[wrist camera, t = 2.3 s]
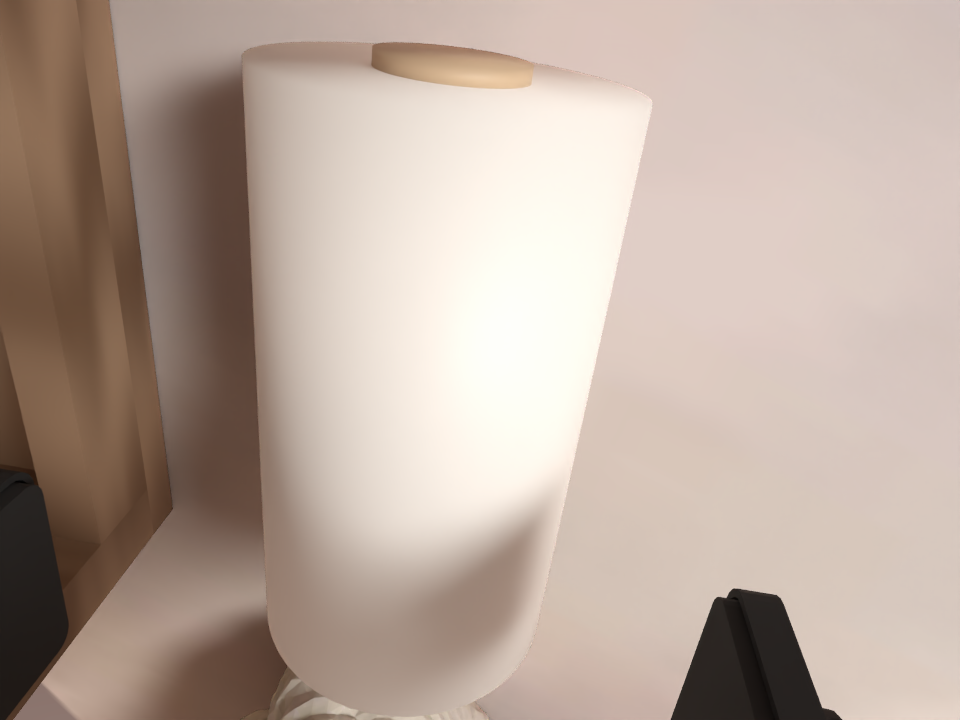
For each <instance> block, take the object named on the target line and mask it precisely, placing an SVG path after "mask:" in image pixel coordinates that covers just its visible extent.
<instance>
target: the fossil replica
mask: <svg viewBox="0 0 960 720" xmlns="http://www.w3.org/2000/svg"><path fill="white" fill-rule="evenodd" d="M240 720H489V718H488V716H487V714H486V713H485V712H484V711H483V710H482V709H481V708H480V707H479V706H478V705H477V703H476V702H475V701H474V702H472V703H470V704H467V705H464V706H462V707H459V708H456V709H453V710H450V711H446V712H442V713H437V714H433V715H424V716H414V717H395V716H384V715H377V714H370V713H366V712H362V711H359V710H355V709H351V708H348V707H346V706H343V705H341V704H339V703H336V702H334V701H331V700H330V699H328V698H326V697H324V696H323V695H321V694H319V693H318V692H316V691H314V690H313V689H312V688H310V687H309V686H308V685H307V684H305V683H304V682H303V681H302V680H300V679H299V678H298V677H297V676H296V674H295V673H294V672H293V671H292V670H291V669H290V668H289V667H287V668H286V670H285V672H284V674H283V677H282V678H281V679H280V682H279V684H278V687H277V690H276V692H275V693H274V694H273V695H272V700H271V702H270V709H268V710H257V711H255V712H253V713H251V714H249V715H248V716H246V717H244V718H242V719H240Z"/></svg>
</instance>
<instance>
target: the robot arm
mask: <svg viewBox="0 0 960 720" xmlns="http://www.w3.org/2000/svg"><path fill="white" fill-rule="evenodd" d="M68 629H69V621H68V616H67V611H66V606H65V601H64V596H63V591H62V586H61V581H60V576H59V570H58V565H57V560H56V555H55V550H54V545H53V540H52V535H51V530H50V525H49V520H48V515H47V510H46V505H45V500H44V495H43V492H42V489H41V488H40V487H39V486H37V485H35V484H34V481H33V479H32V477H31V476H30V475H29V474H27V473H24V472H19V471H12V470H6V469H0V720H6V719H7V718H8V716H9V715H10V714H11V712H12V711H13V710H14V709H15V707H16V706H17V705H18V703H19V702H20V701H21V700H22V698H23V697H24V696H25V695H26V693H27V692H28V691H29V689H30V688H31V687H32V686H33V684H34V683H35V682H36V680H37V679H38V678H39V677H40V675H41V674H42V673H43V672H44V670H45V669H46V668H47V666H48V665H49V664H50V663H51V661H52V660H53V659H54V657H55V656H56V655H57V654H58V652H59V651H60V649H61V648H62V646H63V644H64V642H65V640H66V637H67V634H68ZM671 720H842V719H841V718H840V717H839V716H838V715H837V714H836V713H835V712H834V711H832V710H829V709H824V708H822V706H821V704H820V701H819V698H818V695H817V693H816V690H815V687H814V685H813V682H812V679H811V677H810V674H809V671H808V669H807V666H806V663H805V660H804V658H803V655H802V652H801V650H800V647H799V644H798V642H797V639H796V636H795V634H794V631H793V628H792V626H791V623H790V620H789V617H788V615H787V612H786V609H785V607H784V604H783V602H782V600H781V598H779V597H778V596H777V595H773V594H766V593H760V592H754V591H748V590H742V589H732V590H731V591H730V592H729V594H728V596H727V598H722V597H717V598H716V599H715V600H714V602H713V604H712V607H711V610H710V613H709V615H708V618H707V621H706V624H705V626H704V629H703V632H702V635H701V638H700V640H699V643H698V646H697V649H696V651H695V654H694V657H693V660H692V662H691V665H690V668H689V671H688V673H687V676H686V679H685V682H684V685H683V687H682V690H681V693H680V696H679V698H678V701H677V704H676V707H675V709H674V712H673V715H672V718H671Z"/></svg>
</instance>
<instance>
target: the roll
mask: <svg viewBox="0 0 960 720" xmlns="http://www.w3.org/2000/svg"><path fill="white" fill-rule="evenodd" d="M242 73H243V95H244V117H245V139H246V161H247V183H248V204H249V226H250V248H251V270H252V292H253V314H254V336H255V358H256V380H257V402H258V424H259V445H260V467H261V489H262V511H263V533H264V555H265V577H266V599H267V615H268V625H269V629H270V632H271V636H272V639H273V641H274V644H275V646H276V648H277V650H278V652H279V654H280V655H281V657H282V658H283V660H284V661H285V663H286V664H287V666H288V667H289V668H290V669H291V670H292V671H293V672H294V673H295V674H296V676H297V677H298V678H299V679H300V680H302V681H303V682H304V683H305V684H307V685H308V686H309V687H310V688H312V689H313V690H314V691H316V692H318V693H319V694H321V695H323V696H324V697H326V698H328V699H330V700H331V701H334V702H336V703H339V704H341V705H343V706H346V707H348V708H351V709H355V710H359V711H362V712H366V713H370V714H377V715H384V716H395V717H414V716H424V715H433V714H437V713H442V712H446V711H450V710H453V709H456V708H459V707H462V706H464V705H467V704H470V703H472V702H474V701H476V700H478V699H480V698H481V697H483V696H485V695H487V694H489V693H490V692H491V691H493V690H494V689H496V688H497V687H498V686H500V685H501V684H502V683H503V682H504V681H505V680H507V679H508V678H509V677H510V676H511V675H512V674H513V673H514V672H515V670H516V669H517V668H518V666H519V665H520V664H521V663H522V661H523V660H524V658H525V656H526V655H527V653H528V651H529V649H530V647H531V645H532V642H533V639H534V636H535V634H536V630H537V625H538V621H539V616H540V612H541V607H542V603H543V598H544V594H545V589H546V585H547V580H548V575H549V571H550V566H551V562H552V557H553V553H554V548H555V544H556V539H557V535H558V530H559V526H560V521H561V517H562V512H563V508H564V503H565V499H566V494H567V490H568V485H569V481H570V476H571V472H572V467H573V463H574V458H575V454H576V449H577V445H578V440H579V435H580V431H581V426H582V422H583V417H584V413H585V408H586V404H587V399H588V395H589V390H590V386H591V381H592V377H593V372H594V368H595V363H596V359H597V354H598V350H599V345H600V341H601V336H602V332H603V327H604V323H605V318H606V314H607V309H608V304H609V300H610V295H611V291H612V286H613V282H614V277H615V273H616V268H617V264H618V259H619V255H620V250H621V246H622V241H623V237H624V232H625V228H626V223H627V219H628V214H629V210H630V205H631V201H632V196H633V192H634V187H635V183H636V178H637V174H638V169H639V164H640V160H641V155H642V151H643V146H644V142H645V137H646V133H647V128H648V124H649V119H650V115H651V110H652V106H653V103H652V100H651V99H650V98H649V97H648V96H646V95H645V94H643V93H641V92H639V91H637V90H635V89H633V88H630V87H628V86H625V85H622V84H619V83H616V82H613V81H610V80H607V79H603V78H600V77H596V76H592V75H588V74H584V73H580V72H576V71H572V70H567V69H563V68H558V67H553V66H548V65H543V64H538V63H532V62H528V61H526V60H523V59H520V58H516V57H512V56H508V55H503V54H498V53H493V52H488V51H482V50H476V49H469V48H462V47H454V46H445V45H435V44H422V43H399V42H393V43H378V44H374V43H355V42H290V43H277V44H268V45H262V46H258V47H254V48H250V49H248V50H246V51H244V53H243V54H242Z"/></svg>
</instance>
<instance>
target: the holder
mask: <svg viewBox="0 0 960 720" xmlns="http://www.w3.org/2000/svg"><path fill="white" fill-rule="evenodd" d="M0 469H6V470H12V471H19V472H24V473H27V474H29V475H30V476H31V477H32V479H33V481H34V484H35V485H37V486H39V487H40V488H41V489H42V492H43V495H44V500H45V505H46V510H47V515H48V520H49V525H50V530H51V535H52V540H53V545H54V550H55V555H56V560H57V565H58V570H59V576H60V581H61V586H62V591H63V596H64V601H65V606H66V611H67V616H68V621H69V629H68V634H67V637H66V640H65V642H64V644H63V646H62V648H61V649H60V651H59V652H58V654H57V655H56V656H55V657H54V659H53V660H52V661H51V663H50V664H49V665H48V666H47V668H46V669H45V670H44V672H43V673H42V674H41V675H40V677H39V678H38V679H37V680H36V682H35V683H34V684H33V686H32V687H31V688H30V689H29V691H28V692H27V693H26V695H25V696H24V697H23V698H22V700H21V701H20V702H19V703H18V705H17V706H16V707H15V709H14V710H13V711H12V712H11V714H10V715H9V716H8V718H7V719H6V720H13V719H14V718H15V717H16V715H17V714H18V713H19V711H20V710H21V709H22V707H23V706H24V705H25V703H26V702H27V701H28V699H29V698H30V697H31V695H32V694H33V693H34V691H35V690H36V689H37V687H38V686H39V685H40V683H41V682H42V681H43V680H44V678H45V677H46V676H47V674H48V673H49V672H50V670H51V669H52V668H53V666H54V665H55V664H56V662H57V661H58V660H59V658H60V657H61V656H62V654H63V653H64V652H65V650H66V649H67V648H68V646H69V645H70V644H71V643H72V641H73V640H74V639H75V637H76V636H77V635H78V633H79V632H80V631H81V629H82V628H83V627H84V625H85V624H86V623H87V621H88V620H89V619H90V617H91V616H92V615H93V613H94V612H95V611H96V609H97V608H98V607H99V606H100V604H101V603H102V602H103V600H104V599H105V598H106V596H107V595H108V594H109V592H110V591H111V590H112V588H113V587H114V586H115V584H116V583H117V582H118V580H119V579H120V578H121V576H122V575H123V574H124V572H125V571H126V570H127V569H128V567H129V566H130V565H131V563H132V562H133V561H134V559H135V558H136V557H137V555H138V554H139V553H140V551H141V550H142V549H143V547H144V546H145V545H146V543H147V542H148V541H149V539H150V538H151V537H152V535H153V534H154V533H155V532H156V530H157V529H158V528H159V526H160V525H161V524H162V522H163V521H164V520H165V518H166V517H167V516H168V514H169V513H170V512H171V510H172V509H173V507H172V500H171V492H170V484H169V476H168V468H167V460H166V452H165V444H164V436H163V428H162V420H161V412H160V404H159V396H158V388H157V380H156V372H155V364H154V356H153V348H152V340H151V333H150V325H149V317H148V309H147V301H146V293H145V285H144V277H143V269H142V261H141V253H140V245H139V237H138V229H137V221H136V213H135V205H134V197H133V189H132V181H131V173H130V165H129V158H128V150H127V142H126V134H125V126H124V118H123V110H122V102H121V94H120V86H119V78H118V70H117V62H116V54H115V46H114V38H113V30H112V22H111V14H110V6H109V0H0Z"/></svg>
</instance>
